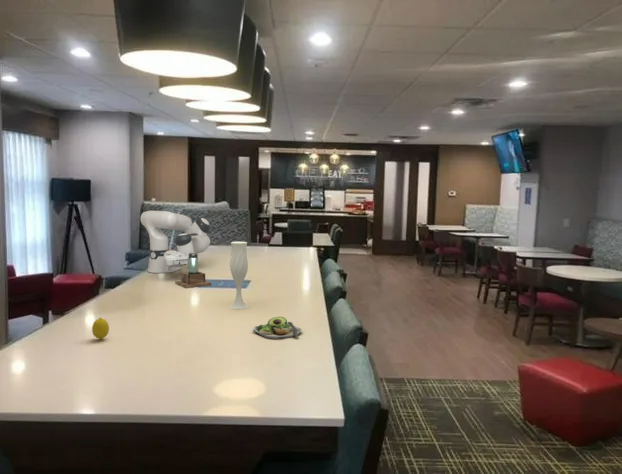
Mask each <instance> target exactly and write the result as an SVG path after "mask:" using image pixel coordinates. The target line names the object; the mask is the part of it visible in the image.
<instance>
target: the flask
mask: <svg viewBox="0 0 622 474" xmlns="http://www.w3.org/2000/svg"><path fill="white" fill-rule="evenodd" d="M198 255H199V253H190V254H189V257H188V264H187V274H189V275H193V274H198V271H199V263H198V257H199V256H198Z"/></svg>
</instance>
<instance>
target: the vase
mask: <svg viewBox="0 0 622 474" xmlns="http://www.w3.org/2000/svg"><path fill="white" fill-rule="evenodd" d="M230 244H231V253H230V256H231V258H230V261H229V267H230V268H229V270H230V273H231V276H232V279H233V282H234V284H235V288H236V289H235V290H236V295H235V298H234V301H233V303H232V304H231V305H230V306H229V309H233V310H245V309H248V308H249V306H248V305H247V304H245V302H244V299H243V296H242V287H243V283H244V280H245V278H246V276H247V273H248V270H249V269H248V268H249V262H248V253H247V252H248V251H247V245H248V242H247V241H230Z"/></svg>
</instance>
